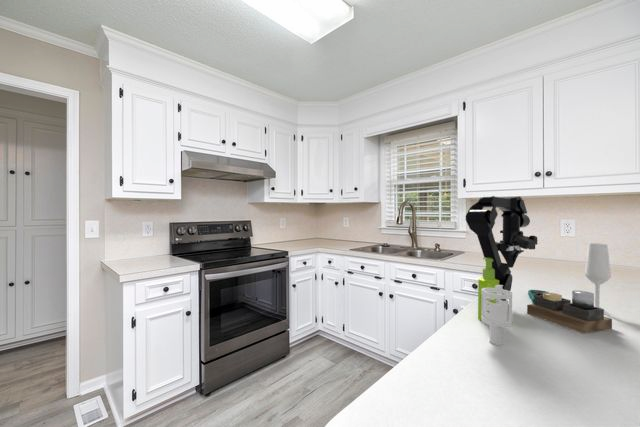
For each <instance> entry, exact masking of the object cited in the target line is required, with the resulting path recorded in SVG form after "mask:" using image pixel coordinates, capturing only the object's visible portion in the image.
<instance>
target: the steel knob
mask: <svg viewBox="0 0 640 427" xmlns="http://www.w3.org/2000/svg"><path fill="white" fill-rule="evenodd" d="M571 293H572V294H571V296H572V297H571V299H572V300H571V303H572V304H573V305H575V306H578V307H583V308H594V306H595V293H594V292H590V291H585V290H576V289H575V290H571Z"/></svg>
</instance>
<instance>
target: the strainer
mask: <svg viewBox="0 0 640 427" xmlns="http://www.w3.org/2000/svg"><path fill="white" fill-rule="evenodd" d="M502 286H503V285H495V288H482V289H481V294H482V302H481V320H482V321H481V320H480V321H481V322H483V323H484V324H486V325H489V342H490V344H493V345H496V346H502V345H503V344H504V341H503V340H504V336H503V335H504V328H509V327H512V326H513V292H512V291H508V290H504V289H502ZM489 292H496V293H497V294H494V293H489ZM485 296H487V297H485ZM495 299H497V300H496V304H495V303H491V302H490V300H495ZM500 299H506V301H502V300H500Z"/></svg>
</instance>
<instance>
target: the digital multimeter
mask: <svg viewBox="0 0 640 427" xmlns="http://www.w3.org/2000/svg"><path fill="white" fill-rule="evenodd" d="M546 292H547V293H550V292H549V291H546V290H541V289H540V290H539V289H529V290H528V291H527V295H528V296H529V298H530V299H531V300H530V301H531V303H532V304H535V296H540V295H543V293H546Z"/></svg>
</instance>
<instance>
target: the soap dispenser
mask: <svg viewBox="0 0 640 427" xmlns="http://www.w3.org/2000/svg"><path fill="white" fill-rule="evenodd" d="M483 260H484V261H485V260H486V261H485V267H483V268H482V277H479V278H478V279H477V280H478V285H477V286H478V290H477V292H478V293H477V294H478V296H477V297H478V298H477V299H478V300H477V304H478V305H477V309H478V310H477V319H478V320H479V321H481V322H483V321H482V320H481V302H482V294H481V289H482V288H495V285H499V280H497V279H495V269H493V268H492V262H493V259H492V258H485V257H484V256H483ZM489 293H494V294H497V293H496V292H489ZM485 297H487V296H485ZM496 300H497V299H495V300H490V302H491V303H495V304H496Z"/></svg>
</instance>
